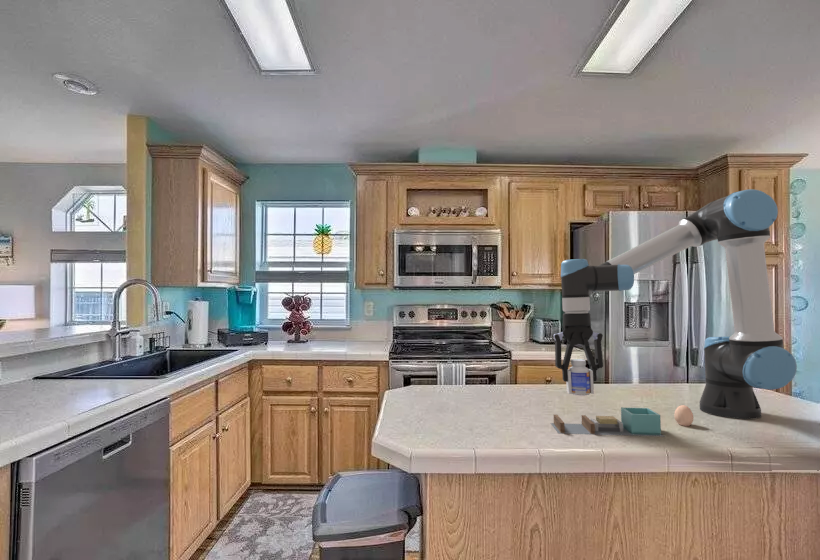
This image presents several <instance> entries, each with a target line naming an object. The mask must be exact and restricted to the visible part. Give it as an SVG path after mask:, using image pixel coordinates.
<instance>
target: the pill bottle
mask: <svg viewBox="0 0 820 560" xmlns="http://www.w3.org/2000/svg"><path fill="white" fill-rule="evenodd" d="M586 360H587V359H581V358H577V359H576V358H574V359H570V364H571V366H569V368H568V370H570V371H571V386H572V394H571V395H575V396H589V395H591V393H590V380H589V369H590V368H588V367H586V365H587V361H586Z"/></svg>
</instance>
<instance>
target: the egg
mask: <svg viewBox="0 0 820 560" xmlns="http://www.w3.org/2000/svg"><path fill="white" fill-rule="evenodd" d="M673 416H674V421H676V423H677V424H678V425H679V426H684V427H689V426H691V425H692V424H693V422H694V414H693V411H692V410H691V408H689V406H687V405H684V404H682V405H678V406H677V407H676V409H675V410H674V414H673Z"/></svg>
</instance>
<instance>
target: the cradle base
mask: <svg viewBox="0 0 820 560" xmlns="http://www.w3.org/2000/svg"><path fill="white" fill-rule="evenodd" d="M616 419H617V418H616ZM590 420H591V421H592V422H593V423H594V424H595V431H607V432H623V423H622V422H621V420H619V419H617V424H600V423H599V422H597V421H596V418H590Z"/></svg>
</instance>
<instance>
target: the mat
mask: <svg viewBox="0 0 820 560" xmlns="http://www.w3.org/2000/svg"><path fill="white" fill-rule="evenodd" d="M550 424H551V426H552V428H553V429H554V430H555V431H556V433H557V434H562V435H563V434H567V435H595V436H596V435H597V436H599V435H601V436H630V437H631V436H632V437H633V436H634V437H636V436H637V437H638V436H639V437H662V438H664V437H666V436H665V435H663V434H662V433H661V435H641V434H631V433H630V432H628V431H627V430H626V429H625V428H623V432H607V431H595V434H591V433H590V432H589V431H588V430H587V429H586V428H585V427H584V426H583V425H582V423H567V422H566V423H565V422H564V424H565V433H560V431H559V430H558V429H557V427H556V426H555V425H554V422H550Z"/></svg>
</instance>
